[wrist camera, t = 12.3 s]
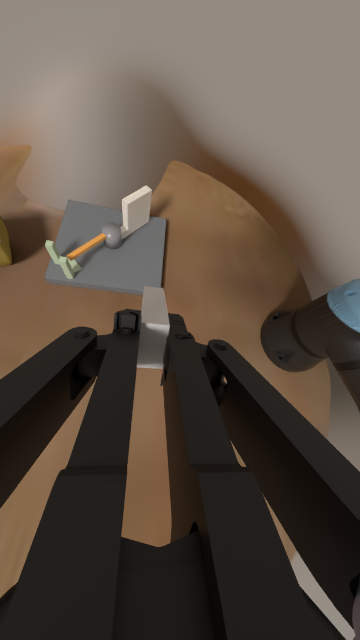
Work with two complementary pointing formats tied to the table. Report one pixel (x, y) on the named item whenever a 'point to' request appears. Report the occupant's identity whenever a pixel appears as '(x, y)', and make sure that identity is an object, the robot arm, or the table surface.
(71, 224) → the lever toy board
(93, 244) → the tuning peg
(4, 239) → the flower pot
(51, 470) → the table surface
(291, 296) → the table surface
